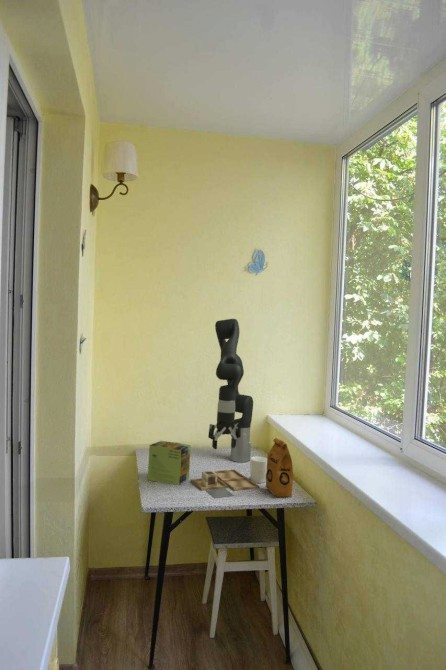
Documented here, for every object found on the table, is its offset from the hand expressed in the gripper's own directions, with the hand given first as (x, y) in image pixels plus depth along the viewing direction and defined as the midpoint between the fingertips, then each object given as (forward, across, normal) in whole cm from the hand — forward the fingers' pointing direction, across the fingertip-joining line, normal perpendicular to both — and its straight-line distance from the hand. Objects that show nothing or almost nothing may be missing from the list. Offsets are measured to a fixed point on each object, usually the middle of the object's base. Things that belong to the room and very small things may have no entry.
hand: (223, 448), depth 219 cm
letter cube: (+16, +5, -2) cm, 17 cm away
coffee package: (+17, -20, +14) cm, 29 cm away
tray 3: (+16, -8, +2) cm, 18 cm away
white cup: (+17, -19, -2) cm, 25 cm away
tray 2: (+16, -8, -10) cm, 21 cm away
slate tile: (+17, +5, +9) cm, 19 cm away
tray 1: (+16, +5, -2) cm, 17 cm away
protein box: (+17, +18, -15) cm, 29 cm away
